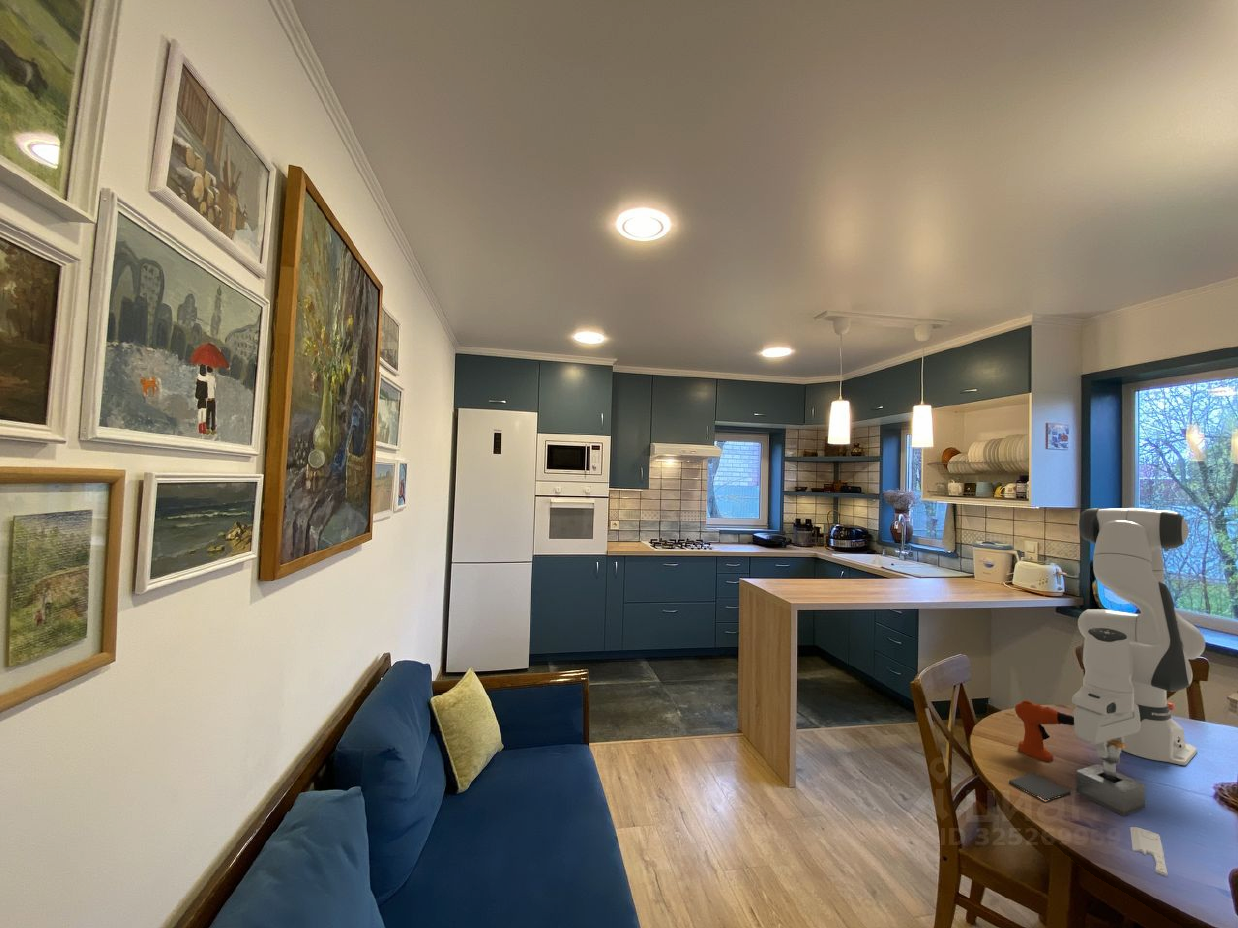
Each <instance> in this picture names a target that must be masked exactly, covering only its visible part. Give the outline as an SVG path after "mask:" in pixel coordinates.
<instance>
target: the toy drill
mask: <svg viewBox="0 0 1238 928" xmlns="http://www.w3.org/2000/svg"><path fill="white" fill-rule="evenodd" d="M1014 712H1015V714H1016V715H1017V717H1018V718H1019V719H1020V720H1021V721H1023V722H1022V723H1023V727H1024V737H1023V740H1022V741H1019V742H1018V750H1019V752H1021V753H1023V754H1024V755H1027V756H1030V757H1031V758H1032V757H1033V758H1035V759H1038V760H1040V761H1045V762H1053V760H1054V755H1053V753H1052V752H1050V751H1049V750H1048V749H1046V748H1045V746H1044V740H1047V739H1049V738H1051V737H1050V736H1051V735H1049V734H1048V732H1047V731H1046V728H1045V727H1044V725H1068V726H1074V716H1072V715H1068V714H1066V713H1063V712H1061V711H1059V710H1055V709H1054V708H1052V707H1049V706H1046V707H1045V706H1043V705H1041V704H1036V703H1033V702H1032V701H1030V700H1028V699H1026V700H1023V701H1021V702H1018V703H1017V704H1016V705H1015V707H1014Z"/></svg>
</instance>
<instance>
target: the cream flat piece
mask: <svg viewBox="0 0 1238 928" xmlns="http://www.w3.org/2000/svg"><path fill="white" fill-rule="evenodd" d="M1129 829H1130V830H1129V831H1130V836H1131V837H1130V838H1131V846H1132V851H1135V852H1141V853H1142V854H1143V855H1144V856H1147V854H1149V855H1151V856H1152V857H1153V859H1154V862H1155V869H1154V872H1155V873H1158V874H1160V875H1163V876H1166V877H1168V876H1169V875H1168V870H1167V866H1166V860H1165V853H1164V847H1163V842H1162V841H1161V837H1160V834H1158V833H1157V832H1156V833H1155V832H1153V831H1151V830H1146V829H1143V828H1141V827H1137V826H1130V828H1129Z"/></svg>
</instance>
